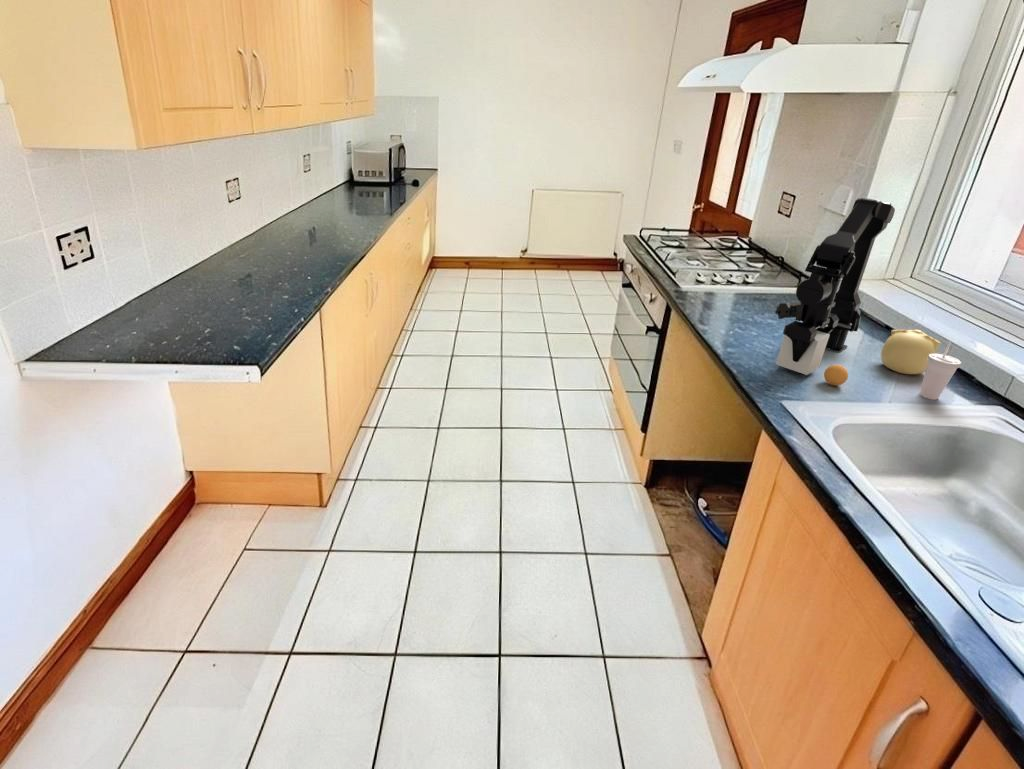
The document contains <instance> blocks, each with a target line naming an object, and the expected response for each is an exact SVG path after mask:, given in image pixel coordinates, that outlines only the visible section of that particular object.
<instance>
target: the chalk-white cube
mask: <svg viewBox="0 0 1024 769" xmlns="http://www.w3.org/2000/svg"><path fill="white" fill-rule="evenodd" d="M829 336H830V334H827V333H824V332H820V331H817V334H816V336H815V338H814V339H815V341H814V342H813V343H812V344H811V346H810V347H809V348H808V350H807V351H806V352H805V353H804V355H803V356H802V357H801V358H800V360H799V361H798V362H795V361H793V348H792V340H791V339H790V338H789V337H787V336H786V335H784V334H783V339H782V341H781V346H780V347H779V348H780V349H779V352H778V354H777V358H776V362H775V365H777V366H780V367H782V368H785V369H787V370H791V371H793V372H796V373H801V374H803V375H805V376H808V375H809V374H811V373H812V372H814V371H817V369H819V368H820V365H821V362H822V359H823V357H824V356H823V355H824V354H825V351H826V349H827V348H826V345H827V342H828V339H829Z"/></svg>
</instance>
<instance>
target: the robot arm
mask: <svg viewBox="0 0 1024 769" xmlns="http://www.w3.org/2000/svg"><path fill="white" fill-rule="evenodd" d="M895 212H896V209H895V207H894V206H893V205H892V203H891V202H884V201H880V200H879V199H876V198H868V197H860V198H859V197H858V198H857V199H855V200H854V203H853V205H852V208H851V211H850V213H849V214H848V216H847V217H846V219H845V220H844V221H843V223H842V224H841V225H840V227H839V229H838V230H837V231H836V233H834V234H830V235H827V236H826V237H825V238H824V239H823V240H822V242H821V243H820V244H818V245H816V248H815V249H814V252H813V254H812V256H811V257H810V259H809V261H808V263H807V265H806V267H805V269H804V271H805V272H807V273H810V275H809V278H807V279H805V280H803V281H801V282H800V283H799V284H798V286H797V287H796V290H795V295H796V298H797V300H798V302H797V301H796V302H789V301H788V302H780V303H779V304H778V305H777V306H776V309H775V312H774V313H775V315H777V319H778V320H782V319H785V318H786V319H790V318H795V319H794V321H792V322H790V323H789V324H786V325H785V326H784V329H783V331H782V334H783V336H784V335H786V336H787V337H789V338H790V339H791V340H792V348H793V361H795V362H798V361H799V360H800V358H801V357H802V356H803V355H804V353H805V352H806V351H807V350H808V348H809V347H810V346H811V344H812V343H813V342H814V341H815V339H814V338H815V336H816V334H817V331H820V332H824V333H827V334H830V336H829V339H828V342H827V345H826V348H825V349H827V350H830V351H834V352H838V353H841V352H842V351H844V350H845V349H847V348H848V345H846V344H845V343H846V340H847V337H848V334H849V332H851V333H853V332H858V330H859V328H860V324H861V319H862V318H861V310H860V306H861V304H862V303H861V302H862V301H861V299H860V295H859V293H858V292H859V289H860V286H861V282H862V280H863V277H864V274H865V270H866V267H867V264H868V261H869V258H870V256H871V252H872V249H873V247H874V243H875V241H876V238H877V237H878V236H879V235H881V233H883V231H885V230H886V229H887V227H888V225H889V224H890V223H891V222H892V219H893V218H894V216H895Z"/></svg>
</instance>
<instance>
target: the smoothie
mask: <svg viewBox="0 0 1024 769" xmlns="http://www.w3.org/2000/svg"><path fill="white" fill-rule="evenodd" d="M952 342H953V340H952V339H949V340H948V342H947V345H946V347H945V349H944V352H943V353H938V352H937V353H933V354H929V356H928V358H927V359H928V363H927V367H926V371H925V372H924V375H923V379H922V384H921V387H920V391H919V395H920V396H921V397H922V398H925V399H929V400H938V399H939V398H940V396H941V395H942V393H943V391H944V390H945V388H946V387H947V385H948V383H949V381H951V380H952V377H953V376H954V374H955V373H956V371H957V369H959V368H960V367H961V365H962V361H960V360H959V359H958V358H956V357H954V356H951V355H947V354H948V351H949V348H950V347H951V344H952Z"/></svg>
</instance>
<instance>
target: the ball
mask: <svg viewBox="0 0 1024 769" xmlns="http://www.w3.org/2000/svg"><path fill="white" fill-rule="evenodd" d="M823 377H824V380H825V382H827V383H828V384H829V385H831V386H836V387H837V386H841V385H844V384H845V383H846V382H847V380H848V378H849V372H848V370H847V369H846V367H844V366H843V365H840V364H832V365H830V366H828V367H827V368H826V369H825V371H824V375H823Z"/></svg>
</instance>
